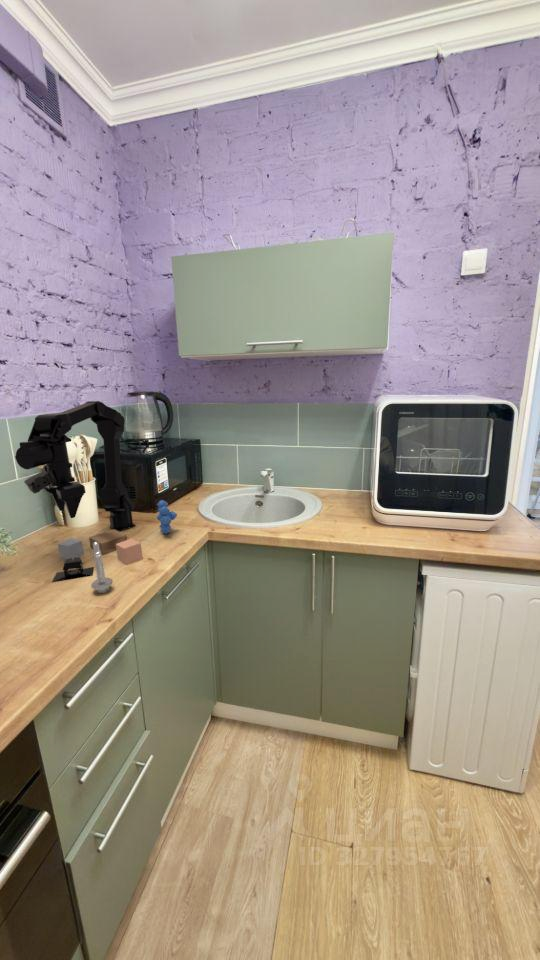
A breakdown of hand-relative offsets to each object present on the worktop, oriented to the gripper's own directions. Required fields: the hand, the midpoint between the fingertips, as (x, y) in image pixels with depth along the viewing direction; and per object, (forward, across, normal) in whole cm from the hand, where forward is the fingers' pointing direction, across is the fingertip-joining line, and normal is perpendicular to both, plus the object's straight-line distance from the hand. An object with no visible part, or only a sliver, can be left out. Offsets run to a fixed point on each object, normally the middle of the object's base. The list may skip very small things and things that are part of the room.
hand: (67, 514), depth 113 cm
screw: (+13, +26, -2) cm, 29 cm away
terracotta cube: (+13, +14, +10) cm, 22 cm away
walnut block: (+14, +1, +10) cm, 17 cm away
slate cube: (+13, -1, 0) cm, 13 cm away
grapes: (+14, +6, +28) cm, 32 cm away
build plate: (+14, +11, -4) cm, 18 cm away
